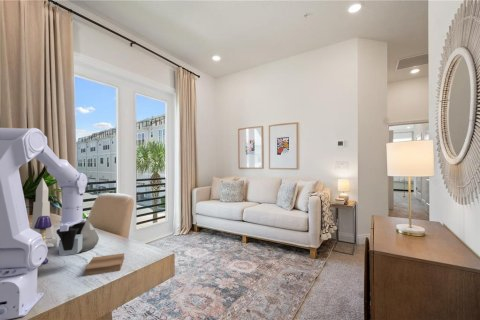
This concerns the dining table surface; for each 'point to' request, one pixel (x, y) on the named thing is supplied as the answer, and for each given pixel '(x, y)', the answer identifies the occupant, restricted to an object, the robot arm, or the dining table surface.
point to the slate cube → (76, 246)
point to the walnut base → (104, 264)
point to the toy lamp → (43, 228)
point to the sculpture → (42, 210)
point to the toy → (88, 236)
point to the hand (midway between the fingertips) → (71, 247)
